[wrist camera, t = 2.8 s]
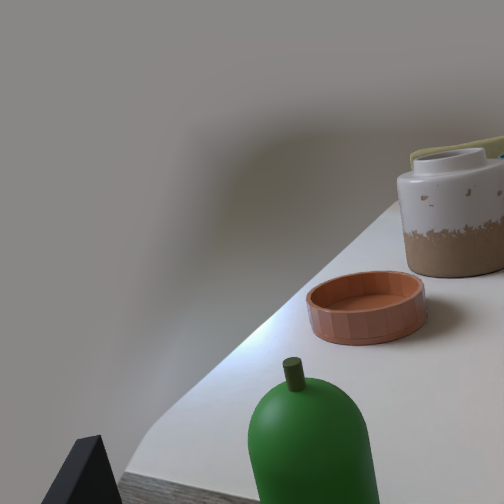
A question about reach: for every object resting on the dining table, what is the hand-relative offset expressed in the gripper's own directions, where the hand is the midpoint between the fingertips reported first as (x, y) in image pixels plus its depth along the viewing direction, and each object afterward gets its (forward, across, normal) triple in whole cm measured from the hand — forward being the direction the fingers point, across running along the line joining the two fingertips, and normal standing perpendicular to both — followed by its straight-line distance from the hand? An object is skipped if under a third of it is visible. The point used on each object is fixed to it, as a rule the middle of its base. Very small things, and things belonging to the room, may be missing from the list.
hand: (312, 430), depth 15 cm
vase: (+57, +29, -15) cm, 66 cm away
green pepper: (+10, 0, -15) cm, 18 cm away
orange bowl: (+42, +11, -15) cm, 46 cm away
